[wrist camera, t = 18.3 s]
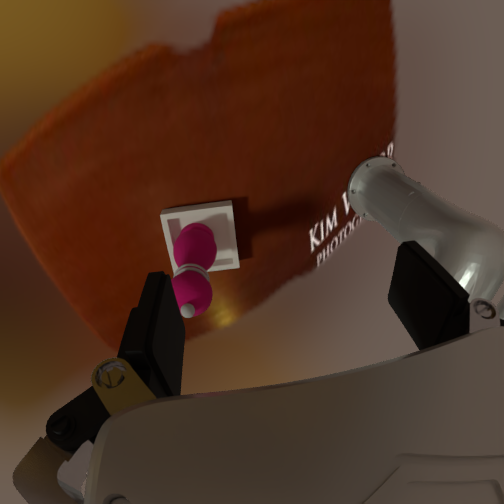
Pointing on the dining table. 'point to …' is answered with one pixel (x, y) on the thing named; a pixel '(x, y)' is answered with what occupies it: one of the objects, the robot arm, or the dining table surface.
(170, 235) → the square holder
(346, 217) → the dining table surface
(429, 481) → the robot arm
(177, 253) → the pepper mill
